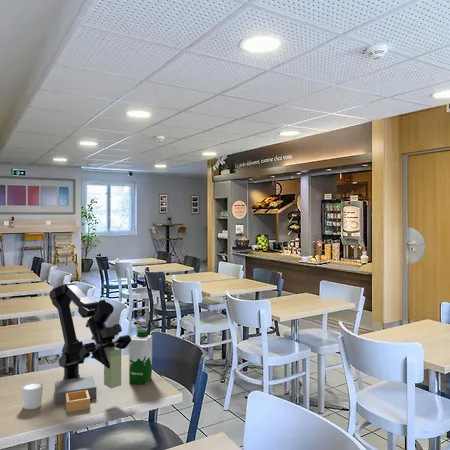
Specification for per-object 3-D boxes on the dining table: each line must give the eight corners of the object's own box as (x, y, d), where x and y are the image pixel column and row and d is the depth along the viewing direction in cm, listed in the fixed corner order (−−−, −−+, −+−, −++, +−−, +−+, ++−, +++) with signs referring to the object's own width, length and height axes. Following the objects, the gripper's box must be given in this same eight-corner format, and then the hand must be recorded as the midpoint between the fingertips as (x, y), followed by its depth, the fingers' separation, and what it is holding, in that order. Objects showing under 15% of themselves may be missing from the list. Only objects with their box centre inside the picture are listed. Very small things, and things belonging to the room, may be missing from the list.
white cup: (46, 401, 155) (46, 382, 155) (38, 409, 148) (38, 389, 148) (26, 401, 154) (26, 382, 154) (18, 410, 147) (18, 390, 147)
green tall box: (104, 384, 154) (104, 348, 154) (113, 381, 157) (113, 346, 157) (111, 388, 151) (111, 351, 151) (121, 385, 154) (121, 349, 154)
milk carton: (154, 377, 179) (154, 329, 179) (147, 385, 170) (147, 335, 170) (133, 376, 180) (134, 329, 180) (126, 384, 171) (126, 334, 171)
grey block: (54, 391, 163) (54, 381, 163) (92, 386, 169) (92, 376, 169) (56, 414, 145) (56, 402, 145) (99, 406, 150) (99, 395, 150)
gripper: (83, 321, 150) (99, 360, 142) (128, 313, 163) (145, 348, 156) (72, 339, 155) (87, 377, 148) (117, 330, 169) (133, 364, 161)
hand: (114, 366), depth 153 cm, fingers closed on green tall box, 4 cm apart
